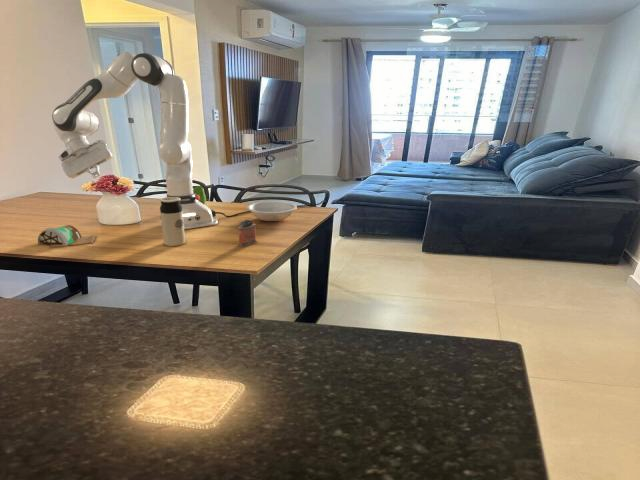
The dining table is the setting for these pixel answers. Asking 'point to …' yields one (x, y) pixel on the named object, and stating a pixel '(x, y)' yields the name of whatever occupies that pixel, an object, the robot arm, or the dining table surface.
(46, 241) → the food container
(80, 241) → the cork pad
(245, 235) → the red tin
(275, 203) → the soup bowl
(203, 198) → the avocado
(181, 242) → the travel mug
